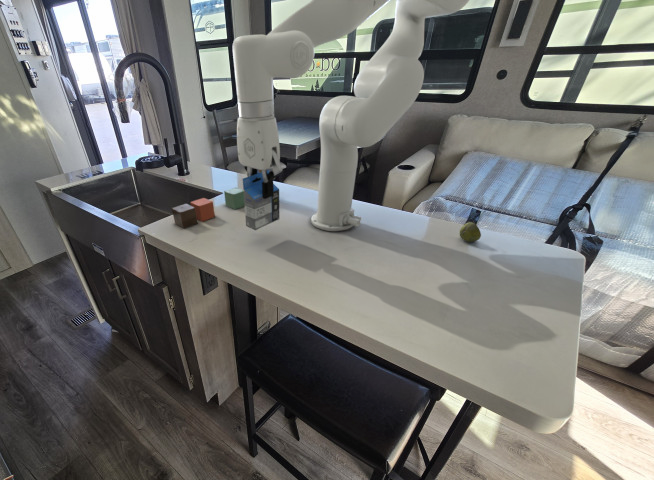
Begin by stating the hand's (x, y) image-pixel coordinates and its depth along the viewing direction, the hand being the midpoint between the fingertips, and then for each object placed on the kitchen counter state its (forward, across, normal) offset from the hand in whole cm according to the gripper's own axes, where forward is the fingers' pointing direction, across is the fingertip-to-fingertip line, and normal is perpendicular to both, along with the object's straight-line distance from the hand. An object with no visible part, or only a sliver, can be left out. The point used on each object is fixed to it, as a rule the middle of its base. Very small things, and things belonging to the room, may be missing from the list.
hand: (262, 194), depth 77 cm
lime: (+14, +39, +35) cm, 54 cm away
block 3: (+13, -25, +10) cm, 30 cm away
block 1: (+12, -25, -10) cm, 30 cm away
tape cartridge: (+8, 0, 0) cm, 8 cm away
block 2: (+12, -25, -3) cm, 28 cm away
